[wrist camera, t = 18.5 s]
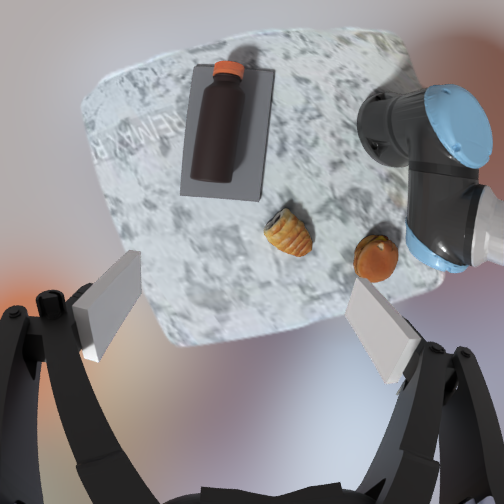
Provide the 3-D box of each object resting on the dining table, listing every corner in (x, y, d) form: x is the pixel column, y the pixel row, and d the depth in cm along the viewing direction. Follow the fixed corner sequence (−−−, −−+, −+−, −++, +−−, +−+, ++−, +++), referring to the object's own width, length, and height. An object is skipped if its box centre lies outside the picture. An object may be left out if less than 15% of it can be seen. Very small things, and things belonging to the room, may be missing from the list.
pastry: (318, 237, 51) (324, 243, 47) (294, 262, 52) (298, 270, 49) (283, 204, 48) (286, 208, 45) (258, 231, 50) (260, 237, 46)
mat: (273, 73, 40) (273, 72, 39) (258, 201, 48) (259, 202, 47) (194, 67, 39) (193, 66, 38) (180, 195, 47) (179, 195, 46)
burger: (359, 284, 55) (368, 294, 50) (344, 249, 52) (353, 257, 47) (396, 261, 53) (407, 269, 49) (383, 225, 50) (395, 231, 46)
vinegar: (231, 181, 46) (249, 74, 40) (231, 185, 39) (252, 61, 33) (192, 177, 45) (210, 70, 39) (186, 179, 39) (207, 56, 32)
